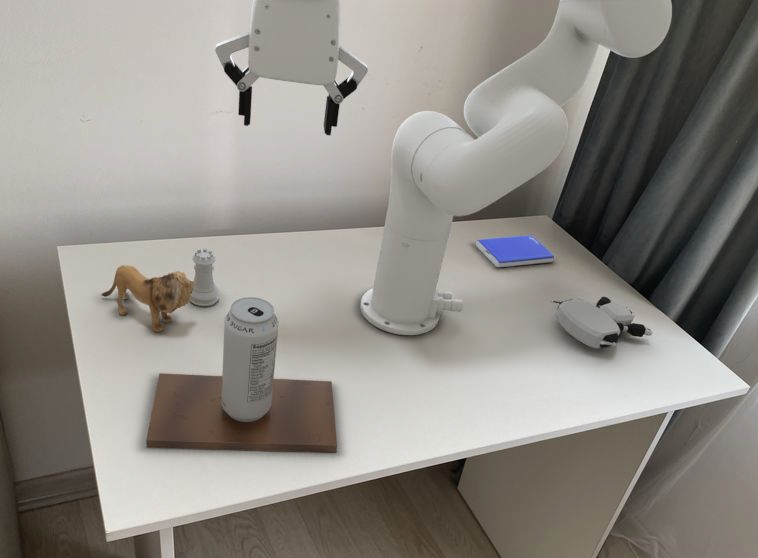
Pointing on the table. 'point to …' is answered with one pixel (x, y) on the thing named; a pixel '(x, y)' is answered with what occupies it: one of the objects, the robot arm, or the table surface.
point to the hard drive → (514, 251)
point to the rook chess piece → (204, 279)
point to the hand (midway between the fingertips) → (287, 126)
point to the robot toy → (597, 321)
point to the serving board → (219, 431)
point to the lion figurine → (153, 292)
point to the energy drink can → (249, 358)
